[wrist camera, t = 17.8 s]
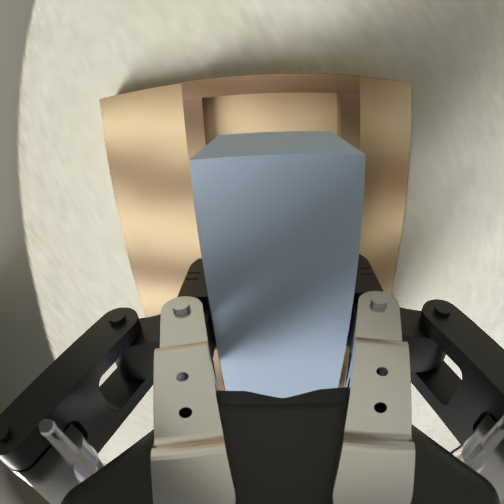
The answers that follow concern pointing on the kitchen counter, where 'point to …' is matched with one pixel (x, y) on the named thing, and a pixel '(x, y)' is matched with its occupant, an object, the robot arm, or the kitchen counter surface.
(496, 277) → the kitchen counter surface
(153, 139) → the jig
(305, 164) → the block
